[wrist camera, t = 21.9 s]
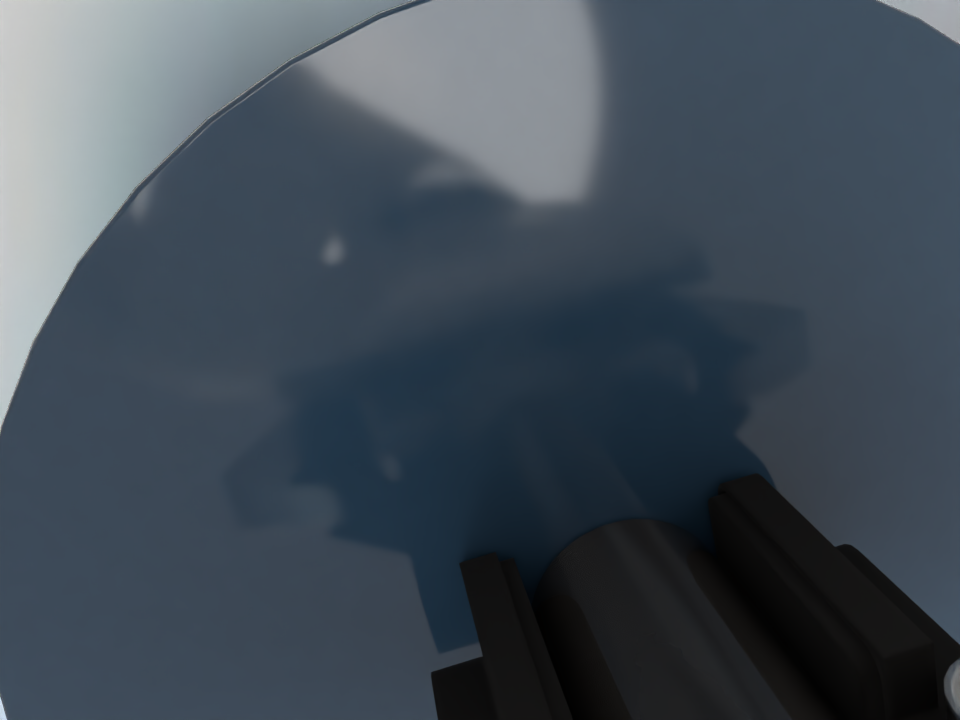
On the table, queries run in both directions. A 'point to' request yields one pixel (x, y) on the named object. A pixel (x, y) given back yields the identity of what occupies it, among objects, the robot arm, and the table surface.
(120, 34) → the table surface
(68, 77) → the table surface
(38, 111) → the table surface
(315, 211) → the lid
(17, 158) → the table surface
